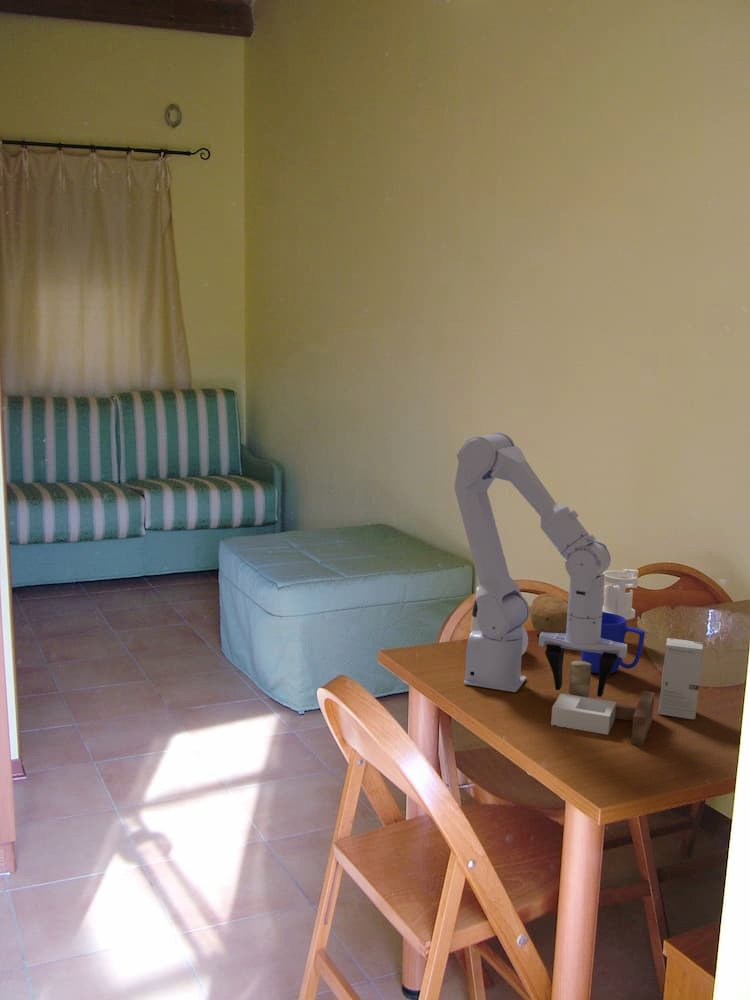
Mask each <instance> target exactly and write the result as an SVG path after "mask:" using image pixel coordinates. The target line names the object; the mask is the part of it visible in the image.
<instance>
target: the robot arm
mask: <svg viewBox="0 0 750 1000" xmlns="http://www.w3.org/2000/svg"><path fill="white" fill-rule="evenodd" d="M456 457H457V461H458V464H457V469H456V475H455V480H454V486H453V487H454V493H455V496H456V500H457V504H458V508H459V511H460V515H461V519H462V522H463V526H464V529H465V534H466V537H467V541H468V544H469V549H470V552H471V556H472V561H473V564H474V566H475V567H474V568H475V572H476V575H477V579H478V582H479V586H480V587H479V586H478V587H479V590H478V593H477V596H476V595H475V599H476V602H477V607H478V610H477V616H476V620H477V625H478V627H479V629H480V630H481V631H472V632H471V631H470V633H469V636H468V639H467V644H466V654H465V673H464V674H465V676H464V681H463V684H464V685H468V686H473V687H474V686H475V687H480V688H487V689H492V690H499V691H505V692H510V693H511V692H512V693H517V692H518V691H519V689H520V688H521V686H522V685H523V684H524V682H525V681H526V679H527V676H526V675H521V672H522V671H521V670H522V669H521V668H522V657H523V655H522V640H523V631H522V625H524V624H525V623H526V622H527V621H528V619H529V617H530V610H531V609H530V605H529V603H528V601H527V599H526V598H525V597H524V596H523V594H522V593H521V591H520V586H519V585H518V583H517V582H516V581H515V580H514V579H513V578H511V576H510V573H509V569H508V566H507V562H506V558H505V554H504V550H503V547H502V543H501V539H500V536H499V531H498V527H497V524H496V520H495V517H494V513H493V508H492V505H491V502H490V501H491V500H490V499H489V498H490V497H489V494H488V490H489V488H490V486H491V485H492V483H493V482H494V481H495V479H499V480H502V481H507V482H510V484H512V486H514V488H515V489H516V490H517V492H519V494H521V496H522V497H523V498H525V500H526V501H527V503H528V504H529V505H530V506H531V507H532V508H533V509H534V510H535V512H536V513H537V514H538V515H539V516H540V529H541V531H543V533H544V534H545V535H546V537H547V538H548V539H549V540H550V542H551V543H552V544H553V546H554V547H555V548H556V550H557V551H558V552H559V553H560V555H561V556H562V557H563V558H564V559H565V560H566V561H564V566H565V567H564V568H565V570H566V572H567V574H568V576H569V586H568V598H567V599H568V601H567V603H568V612H567V627H566V634H561V633H545V632H541V633H539V635H538V646H539V647H546V650H544V652H545V653H544V654H545V657H546V658H547V661H548V663H549V666H550V669H551V672H552V676H553V680H554V688H555V690H556V691H560V690H561V688H562V687H563V667H564V666H563V664H564V655H565V649H566V650H573V651H580V652H581V651H587V652H594V653H601V654H603V655H602V656H601V658H600V672H599V675H598V676H599V677H598V684H597V693H596V695H597V698H602V697H603V695H604V691H605V687H606V684H607V680H608V677H609V675H610V674H609V673H610V671H611V669H612V667H613V665H614V663H615V662H616V660H617V658H618V656H619V657H620V658H622V659H626V657H627V655H628V654H627V653H628V644H627V643H618V642H614V641H610V640H606V639H602V638H600V637H601V623H602V610H603V606H604V592H605V581H604V577H605V574H602V573H604V572H605V571H608V568H609V567H610V565H611V559H612V558H611V554H610V551H609V549H608V548H607V545H606V544H605V543H603V542H602V541H598V540H596V537H595V536H594V535H593V534H589V532H588V531H587V530H586V528H585V527H584V526H583V524H582V523H581V522H580V520H579V519H578V517H579V514H578V512H577V511H576V510H575V509H573V510H571V509H570V508H569V507H568V506H564V505H559V504H557V502H556V501H555V500H554V498H553V496H552V495H551V494H550V492H549V491H548V490H547V488H546V486H544V483H542V481H541V480H540V479H539V477H538V476H537V474H536V472H535V471H534V470H533V468H532V467H531V466H530V464H529V463H528V460H526V457H525V455H524V453H523V451H522V449H521V448H520V447H519V446H518V445H515V442H514V440H513V439H512V438H511V437H510V436H509V435H508V434H507V433H504V432H494V433H491V434H488V435H487V434H486V435H482V436H480V435H479V436H472V437H470V438H468V439H467V440H466V441H465V443H464V444H463V445H462V446H461V448H460V450H459V451H458V452H457V454H456Z"/></svg>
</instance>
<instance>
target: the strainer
mask: <svg viewBox="0 0 750 1000" xmlns="http://www.w3.org/2000/svg"><path fill="white" fill-rule="evenodd" d="M602 574H605V577H604V582H606V583H609V584H607V585H604V597H603V610H602V612H606V613H613V614H617V615H620V616H622V617H624V618H625V619H626V621H627V620H633V619H634V618H636V610H635V609H634V608H633V607H632V606H633V595H634V594H633V593H634V590H633V589H638V582H639V570H638V569H629V568H625V569H624V568H623V569H622V570H606V571H605V572H604V573H602ZM602 574H601V575H602ZM611 584H612V585H611ZM629 588H630V589H629ZM631 588H632V589H631ZM626 589H629V592H626Z"/></svg>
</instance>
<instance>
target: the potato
mask: <svg viewBox="0 0 750 1000" xmlns="http://www.w3.org/2000/svg"><path fill="white" fill-rule="evenodd" d="M529 610H530V612H529V617H530V620H531V624H532V627H533V628H534V630H535V631H537V632H538V633H539V634H541V632H545V633H561V634H566V627H567V612H568V601H565V599H563V598H561V597H560V596H558V595H555V594H552V593H541V594H539V595H538V596H536V597H535V598H534V599H533V600H532V603H531V605H530V609H529Z"/></svg>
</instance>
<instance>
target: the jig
mask: <svg viewBox="0 0 750 1000" xmlns="http://www.w3.org/2000/svg"><path fill="white" fill-rule="evenodd" d="M655 694H656V693H655V692H652V691H646V690H643V691H642V693H641V696H640V698H639V700H638V703H637V706H630V705H624V704H618V703H616V712H615V719H621V720H625V721H626V720H627V721H632V727H631V728H632V729H631V742H630V744H632V745H635V746H636V745H637V746H643V747H644V744H645V741H646V738H647V736H648V733H649V730H650V727H651V724H652V722H653V715H654V704H655Z"/></svg>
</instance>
